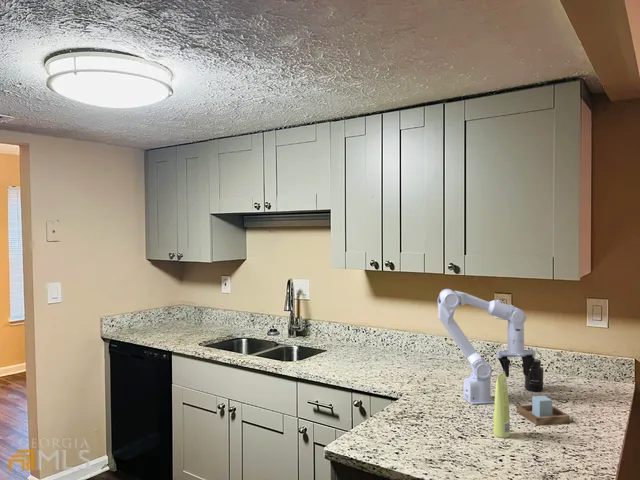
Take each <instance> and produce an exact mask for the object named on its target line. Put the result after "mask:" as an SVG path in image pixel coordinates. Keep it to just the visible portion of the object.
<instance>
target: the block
mask: <svg viewBox="0 0 640 480" xmlns="http://www.w3.org/2000/svg"><path fill="white" fill-rule="evenodd" d="M531 398H532V399H531V400H532V402H531V403H532V414H534V415H535V416H537V417H546V416H552V406H553V400H552V399H551V398H549V397H547V396H545V395H537V396H536V395H534V396H531Z"/></svg>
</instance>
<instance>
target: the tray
mask: <svg viewBox="0 0 640 480" xmlns="http://www.w3.org/2000/svg"><path fill="white" fill-rule="evenodd" d="M516 412H517V414H519V415H520V416H522V417H524V418H525V419H526V420H527V421H529V422H531V423H532V424H533V425H535V426H544V425H545V426H547V425H558V424H559V425H560V424H562V425H563V424H570V422H571V419H570V418H571V417H570V415H569V414H567V413H565V412H564V411H562V410H560V409H558V408H557V407H555V406H553V405H552V416H546V417H537V416H535V415H534V414H532V404H520V405H519V404H517V405H516Z"/></svg>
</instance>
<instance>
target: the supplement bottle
mask: <svg viewBox="0 0 640 480" xmlns="http://www.w3.org/2000/svg"><path fill="white" fill-rule="evenodd" d="M524 388H525V390H526V391H529V392H533V393H541V392H543V390H544V369H543V367H542V361H541V360H540V359H538V358H534V362H533V363H532V365H531V367H530V370H529V374H528V376H525V375H524Z"/></svg>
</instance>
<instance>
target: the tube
mask: <svg viewBox="0 0 640 480" xmlns="http://www.w3.org/2000/svg"><path fill="white" fill-rule="evenodd" d="M509 402H510V401H509V391H508V381H507V377H506V374H505V371H504V372H503V371H502V372H501V373H500V374H498V375H497V379H496V383H495V392H494V403H493V435H494V436H495V437H497V438H502V439H505V438H509V437H511V423H510V422H511V420H510V418H511V417H510V403H509Z"/></svg>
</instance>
